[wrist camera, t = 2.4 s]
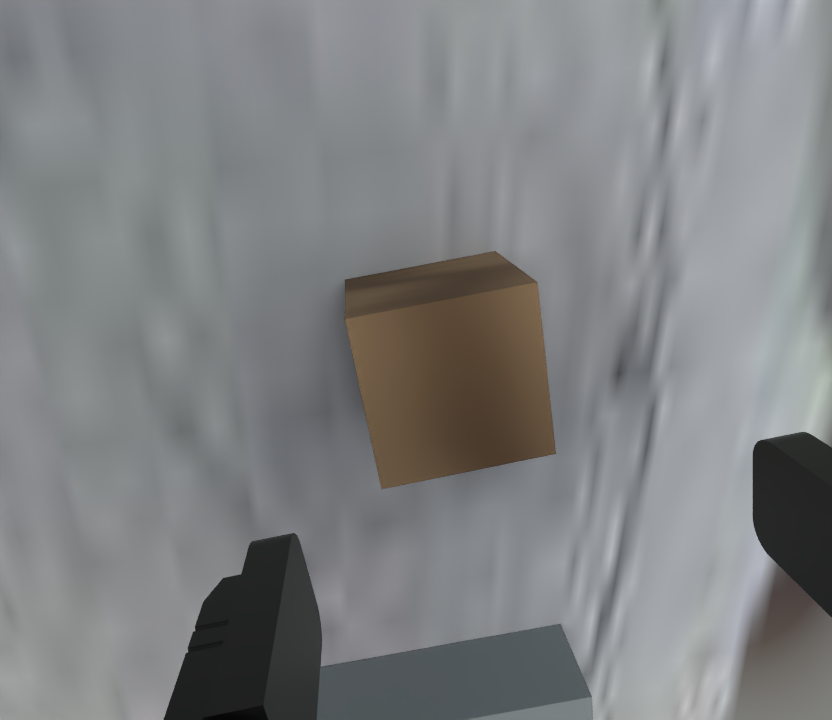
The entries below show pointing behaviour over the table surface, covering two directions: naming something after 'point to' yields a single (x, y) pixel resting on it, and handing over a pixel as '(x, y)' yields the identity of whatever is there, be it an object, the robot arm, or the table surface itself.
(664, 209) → the table surface
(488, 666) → the slate base block
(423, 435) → the walnut block
